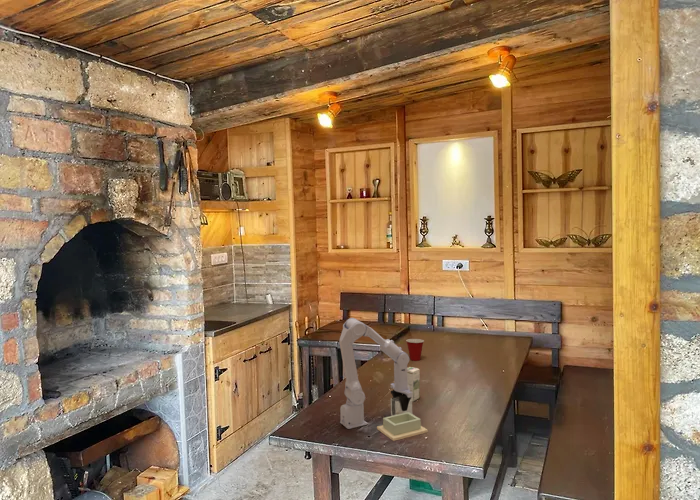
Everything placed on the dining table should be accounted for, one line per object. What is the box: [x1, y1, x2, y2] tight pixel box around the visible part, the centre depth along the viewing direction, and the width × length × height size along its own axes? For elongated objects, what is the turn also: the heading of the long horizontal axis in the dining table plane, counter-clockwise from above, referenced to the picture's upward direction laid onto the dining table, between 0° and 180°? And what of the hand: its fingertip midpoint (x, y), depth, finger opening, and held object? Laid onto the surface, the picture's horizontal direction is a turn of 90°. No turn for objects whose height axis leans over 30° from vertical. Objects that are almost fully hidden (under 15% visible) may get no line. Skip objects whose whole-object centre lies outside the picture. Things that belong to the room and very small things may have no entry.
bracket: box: [390, 396, 413, 416], centre depth 226 cm, size 8×4×8 cm, turn 116°
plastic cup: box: [405, 338, 425, 362], centre depth 311 cm, size 11×11×12 cm
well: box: [376, 412, 429, 442], centre depth 211 cm, size 16×13×5 cm
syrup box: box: [407, 366, 421, 403], centre depth 246 cm, size 6×6×14 cm
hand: (401, 408), depth 226 cm, fingers closed on bracket, 4 cm apart
